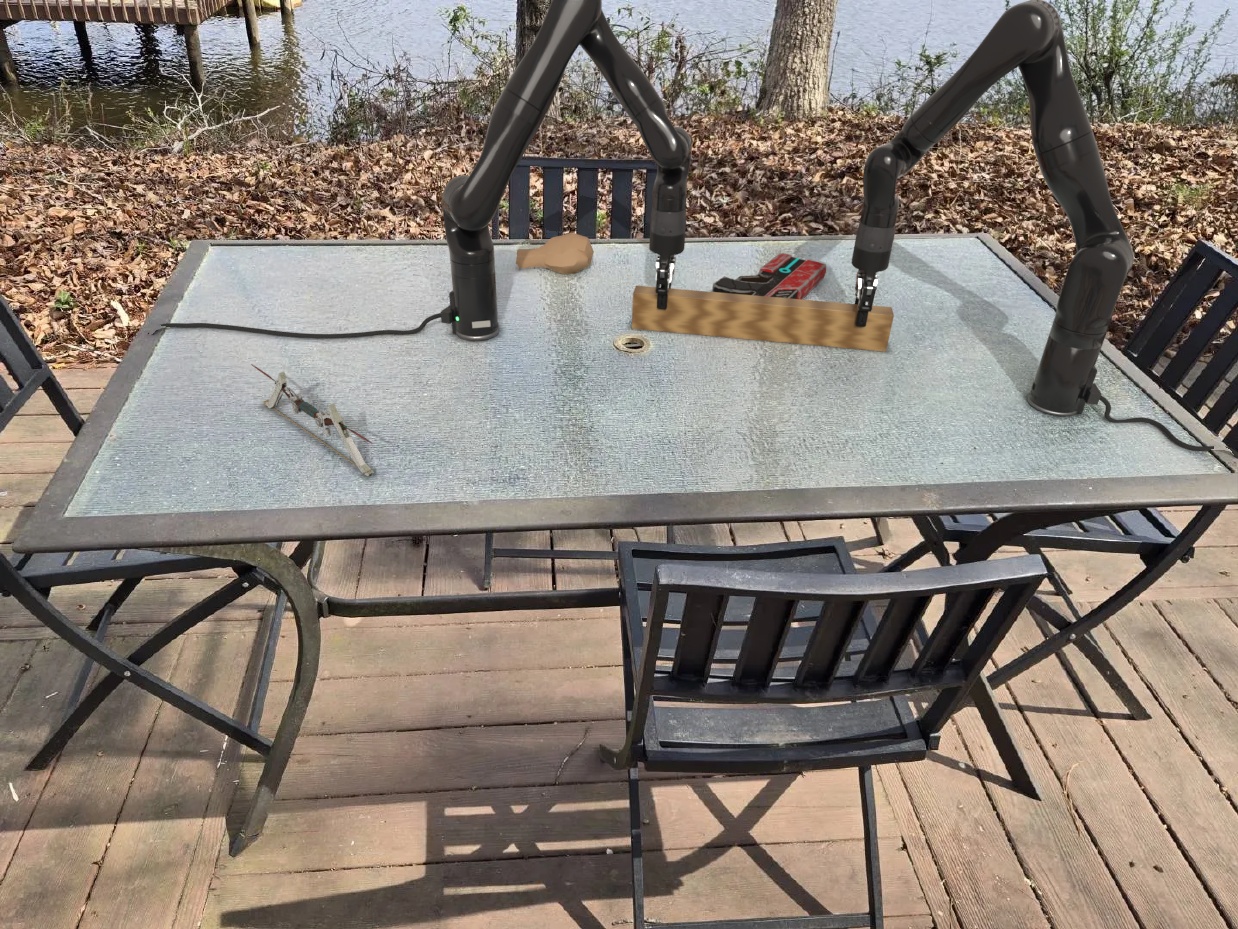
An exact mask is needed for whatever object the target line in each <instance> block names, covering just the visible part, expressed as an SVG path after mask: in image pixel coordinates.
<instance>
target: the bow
mask: <svg viewBox="0 0 1238 929" xmlns="http://www.w3.org/2000/svg"><path fill="white" fill-rule="evenodd" d="M250 365H251V366H252V367H253V368H255V369H256V370H257V371H259V373H261V374H263V375H264V376H266V377H267V378H269V379H270V380H272V381H273V382H274V390H273V391H272V392H271V394H270V396H269V398H268V399H265V400H263V401H262V403H263V406H264V407H266V408H267V409H273V410H274V411H276V412H277V413H278V414H280V415H281V416H283V417H285V419H287V420H289V421H290V422H292V423H293V424H295V425H296V426H297V427H299V428H301V429H302V430H304V431H305V432H306V433H307V434H309V435H311V436H312V437H313V438H315V439H316V440H318V441H319V442H320V443H322V444H324V445H325V446H326V447H328V448H329V449H330V450H332V451H334V452H335V453H337V454H338V455H340V456H341V457H342V458H343V459H345V460H347V461H348V462H349V463H351V464H352V465H354V466H355V467H357V468H358V470H359V471H360V472H361V473H362V475H364V476H367V477H370V475H373V474H375V473H374V471H373V469H372V468H371V467H370V466H368V464H367V463H366V462H365V460H364V458H363V456H362V454H361V452H360V451H359V448H358V447H357V445H356V443H355V441H354V440H353V438H352V436H351V434H350V432H351V433H353V434H354V435H356V436H357V437H358V438H360V439H362V440H363V441H365V442H367V443H369V444H373V442H372V441H371V440H369V439H368V438H366V437H365V436H363V434H360V433H359V432H357V431H355V430H353V429H351V428H349V427H348V426H347V425H346V423H345V421H344V419H343V417H342V416H341V414H340V413H339V411H338V409H337V407H336V405H335V403H334V402H333V403H331V404H328V405H327V406H328V411H327V409H324V410H321V411H319V409H318V408H317V407H316V406H314V405H312V404H311V403H310V402H308V401H305V400H304V399H303V398H304V397H303V394H302V393H298V394H297V393H296V392H295V391H294V390H293V389H292V388H290V387H288V386H287V385H288V381H287V375H286V372H285V371H283V372H280V373H278V375H277V379H276V380H275V379H274V378H273V377H271V375H269V374H268V373H267V372H265V371H263V369H261V368H259V367H257V366H256V365H254V364H253V363H251V364H250ZM283 394H284V395H285V396H286V398H288V399H289V401H290V402H289V403H290V404H291V407H292V410H291V411H292V414H293V415H294V416H296V415H298V414H302V412H303V413H304V414H306V415H308V416H309V417H311V418H312V419H315V424H316V426H317V427H319V428H321V429H323V433H324V436H325V437H326V438H328V437H330V436H333V435H334V433H333V430H332V426H334V427H335V428H336V431H337V432H338V434H339V436H340V438H341V440H342V443H343V444H344V446H345V449H346V450H347V452H348V453H349V455H350V456H351V459H352V460H353V461H352V460H350V459H349V458H348V457H346V456H344V455H343V454H342V453H340V452H339V451H338V450H336V449H334V447H332V446H330V445H328V444H327V443H325V442H324V441H323V440H321V439H320V438H318V437H317V436H315V435H314V434H313V433H311V432H310V431H309V430H307V429H305V428H304V427H303V426H301V425H300V424H298V423H297V422H295V421H294V420H292V419H291V418H289V417H288V416H286V415H285V414H284V413H282V412H281V411H279V410H278V409H276V406H278V405H279V404H280V401H281V400H282V397H283Z"/></svg>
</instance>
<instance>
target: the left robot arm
mask: <svg viewBox="0 0 1238 929" xmlns="http://www.w3.org/2000/svg"><path fill="white" fill-rule="evenodd" d="M579 46H580V47H581V48H582V49H583V51H584V52H585V53H586V54H587V55H588V57H589V58H590V59H591V61H592V62H593V63H594V65H595V66H596V68H597V69H598V71H599V72H600V74H601V75H602V77H603V78H604V80H605V81H606V83H607V84H608V86H609V88H610V90H611V92H612V93H613V94H614V96H615V98H616V99H617V101H618V102H619V103H620V105H621V107H622V108H623V110H624V112H625V113H626V114H627V116H628V117H629V118H630V120H631V121H632V123H633V124H634V125H635V127H636V128H637V130H638V132H639V135H640V137H641V140H642V141H643V143H644V146H645V147H646V149H647V151H648V154H649V155H650V156H651V159H653V161H654V162H655V163H656V164H657V167H656V168H657V169H656V177H655V180H654V183H653V188H652V203H651V204H652V205H651V206H652V207H651V213H650V221H649V222H650V223H649V243H648V248H649V250H650V252H652V253H653V254H656V255H657V258H656V260H655V268H656V269H655V287H656V291H655V292H656V293H658V294H657V308H658V309H663V310H665V309H667V301H668V292H669V288H672V281H673V280H674V279H673V276H674V274H675V270H676V269H675V267H676V262H677V257H676V256H677V255H680V254H682V253H683V252H684V251H685V243H686V230H687V229H686V228H687V197H688V178H689V172H690V166H691V161H692V160H691V159H692V150H693V143H692V138H691V135H690V134H689V132H687V130H686V129H685V128H683V127H681V126H675V125H673V123H672V121H671V120H670V118H669V117H668V114H667V106H666V105H665V103H664V101H663V99H662V97H661V96H660V95H659V93H658V91H657V90H656V88H655V86H653V84H652V83H651V81H650V79H649V78H648V77H647V75H646V73H644V71H643V70H642V69H641V68H640V66H639V65H638V64H637V63H636V61H635V60H634V59H633V58H632V56H631V55H630V54H629V53H628V51H627V50H626V49H625V48H624V46H623V45H622V44H621V42H620V40H618V38H617V36H616V34H615V33H614V31H613V30H612V28H611V26H610V24H609V22H608V19H607V17H606V15H605V12H604V11H603V0H551V2H550V5H549V7H548V10H547V12H546V15H545V17H544V19H543V21H542V24H541V26H540V28H539V31H538V33H537V34H536V37H535V39H534V40H533V42H532V43H531V46H530V47H529V48H528V50H527V51H526V52H525V54H524V56H523V57H522V58H521V60H520V61H519V63H518V64H517V66H516V68H515V69H514V71H513V72H512V74H511V76H510V77H509V79H508V81H507V82H506V84H505V86H504V88H503V89H502V92H500V93H501V94H500V95H499V97H498V98H497V101H496V103H495V104H494V107H493V109H492V112H491V115H490V119H489V122H488V125H487V130H486V134H485V138H484V142H483V147H482V151H481V154H480V156H479V158H478V160H477V162H476V164H475V165H474V167H473V169H472V171H471V173H470V174H469V175H467V174H466V175H465V174H462V175H461V174H460V175H457V176H455V177H453V178H451V179H450V180H449V181H448V182H447V183H446V185H445V187H444V189H443V192H442V198H441V200H442V201H441V202H442V204H441V206H442V216H443V225H444V233H445V234H444V235H445V240H446V244H447V248H448V252H449V263H450V264H449V265H450V275H451V276H450V277H451V286H452V290H451V291H450V292H448V297H449V305H448V306H446V307H445V308H443V309H442V310H441V311H440V312H439V313H434V314H432V315H430V316H427V317H426V318H425V319H424V320H423V321H422V322H421V324H420V325H419V326H418V327H416V328H412V329H407V330H402V329H401V330H400V329H399V330H398V329H382V330H372V331H361V332H347V333H345V332H344V333H306V332H305V333H304V332H292V331H281V330H273V329H264V328H255V327H248V326H241V325H233V324H232V325H231V324H223V323H222V324H220V323H208V322H189V323H188V322H187V323H186V322H184V323H183V322H181V323H180V322H168V323H162V324H161V323H160V325H161V326H166V327H170V328H169V329H173V328H175V329H176V328H177V329H178V328H179V329H180V328H181V329H182V328H183V329H189V328H191V329H192V328H206V329H219V330H230V331H239V332H246V333H247V332H248V333H254V334H263V335H269V336H270V335H271V336H279V337H288V338H300V339H302V338H303V339H349V338H362V337H363V338H364V337H365V338H366V337H373V336H383V335H396V336H397V335H399V336H406V335H407V336H408V335H414V334H418V333H420V332H421V331H423V330H424V329H425V327H426V326H427V325H428V323H430V322H432V321H434V320H436V319H440V321H441V322H440V323H442V324H445V325H446V324H447V325H451V332H452V334H453V335H456V336H457V337H458V338H460V339H462V340H464V341H470V342H479V341H481V342H482V341H486V340H487V341H488V340H491V339H493V338H494V337H495V338H496V337H497V335H499V333H500V325H499V312H498V311H499V310H498V296H497V295H498V294H497V293H498V292H497V276H496V275H497V274H496V261H495V259H496V258H495V245H494V242H493V240H492V236H491V232H490V227H489V224H490V223H491V222H492V220H493V219H494V217H495V215H496V213H497V211H498V208H499V206H500V203H501V201H502V198H503V196H504V194H505V191H506V190H507V187H508V184H509V183H510V180H511V179H512V176H513V174H514V172H515V171H516V169H517V167H518V165H519V164H520V161H521V160H522V158H523V156H524V155H525V153H526V151H527V149H528V148H529V146H530V144H531V142H532V141H533V138H534V137H535V136H536V135H537V134H536V133H537V132H538V131H539V128H540V127H541V125H542V123H543V121H544V119H545V118H546V115H547V114H548V113H549V110H550V108H551V105H552V104H553V102H554V99H555V97H556V95H557V93H558V90H559V88H560V84H561V82H562V79H563V77H564V74H565V71H566V69H567V67H568V64H569V62H570V60H571V59H572V57H573V55H574V53H575V52H576V50H577V49H578V47H579ZM158 331H159V330H157V331H156V332H158Z"/></svg>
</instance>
